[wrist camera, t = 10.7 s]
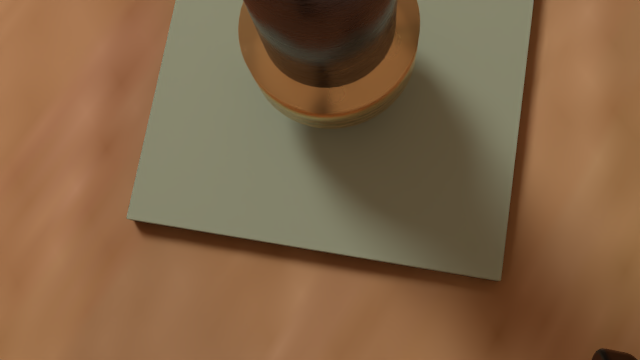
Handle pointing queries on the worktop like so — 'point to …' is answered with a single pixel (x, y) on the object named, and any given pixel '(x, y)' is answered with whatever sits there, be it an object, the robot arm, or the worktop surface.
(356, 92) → the dark brown cylinder
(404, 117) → the mat
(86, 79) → the worktop surface
